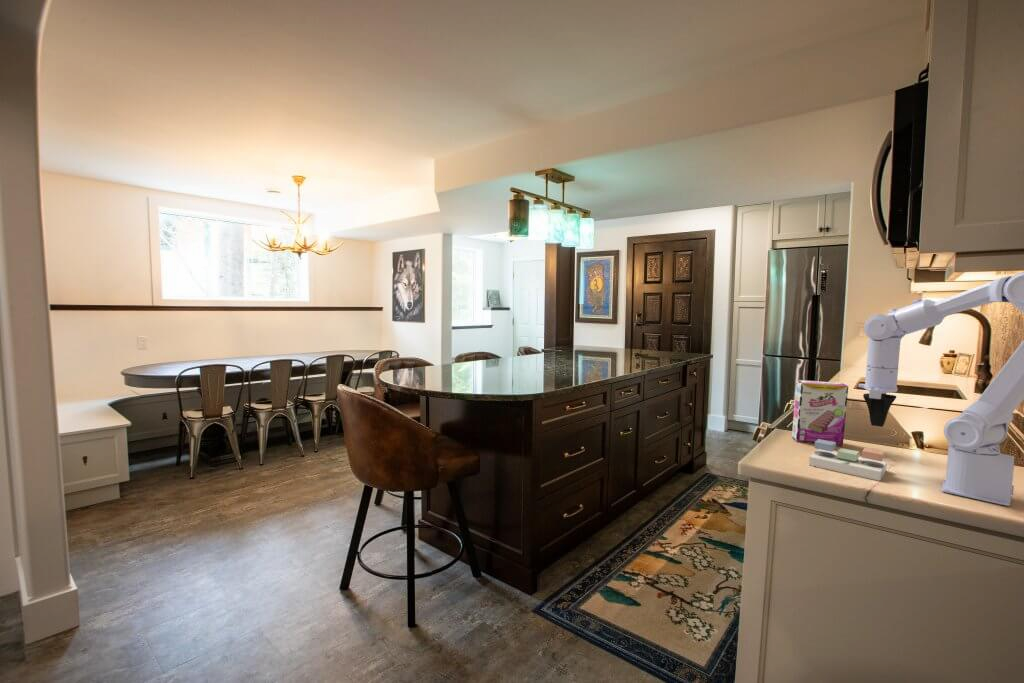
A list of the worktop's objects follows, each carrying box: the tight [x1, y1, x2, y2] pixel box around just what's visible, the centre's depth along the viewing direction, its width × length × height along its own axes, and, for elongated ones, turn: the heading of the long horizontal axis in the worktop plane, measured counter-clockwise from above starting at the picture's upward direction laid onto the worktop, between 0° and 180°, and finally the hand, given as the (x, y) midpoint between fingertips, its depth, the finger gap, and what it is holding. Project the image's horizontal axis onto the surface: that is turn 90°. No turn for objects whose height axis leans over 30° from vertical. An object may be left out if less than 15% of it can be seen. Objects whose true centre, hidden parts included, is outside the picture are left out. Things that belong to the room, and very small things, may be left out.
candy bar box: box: [791, 379, 849, 446], centre depth 127 cm, size 11×5×16 cm, turn 74°
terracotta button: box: [861, 447, 886, 462], centre depth 103 cm, size 4×4×2 cm
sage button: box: [836, 447, 860, 461], centre depth 107 cm, size 4×4×2 cm
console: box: [808, 449, 888, 482], centre depth 107 cm, size 13×9×2 cm
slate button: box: [814, 439, 837, 452], centre depth 110 cm, size 4×4×2 cm
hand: (877, 425), depth 108 cm, fingers closed
